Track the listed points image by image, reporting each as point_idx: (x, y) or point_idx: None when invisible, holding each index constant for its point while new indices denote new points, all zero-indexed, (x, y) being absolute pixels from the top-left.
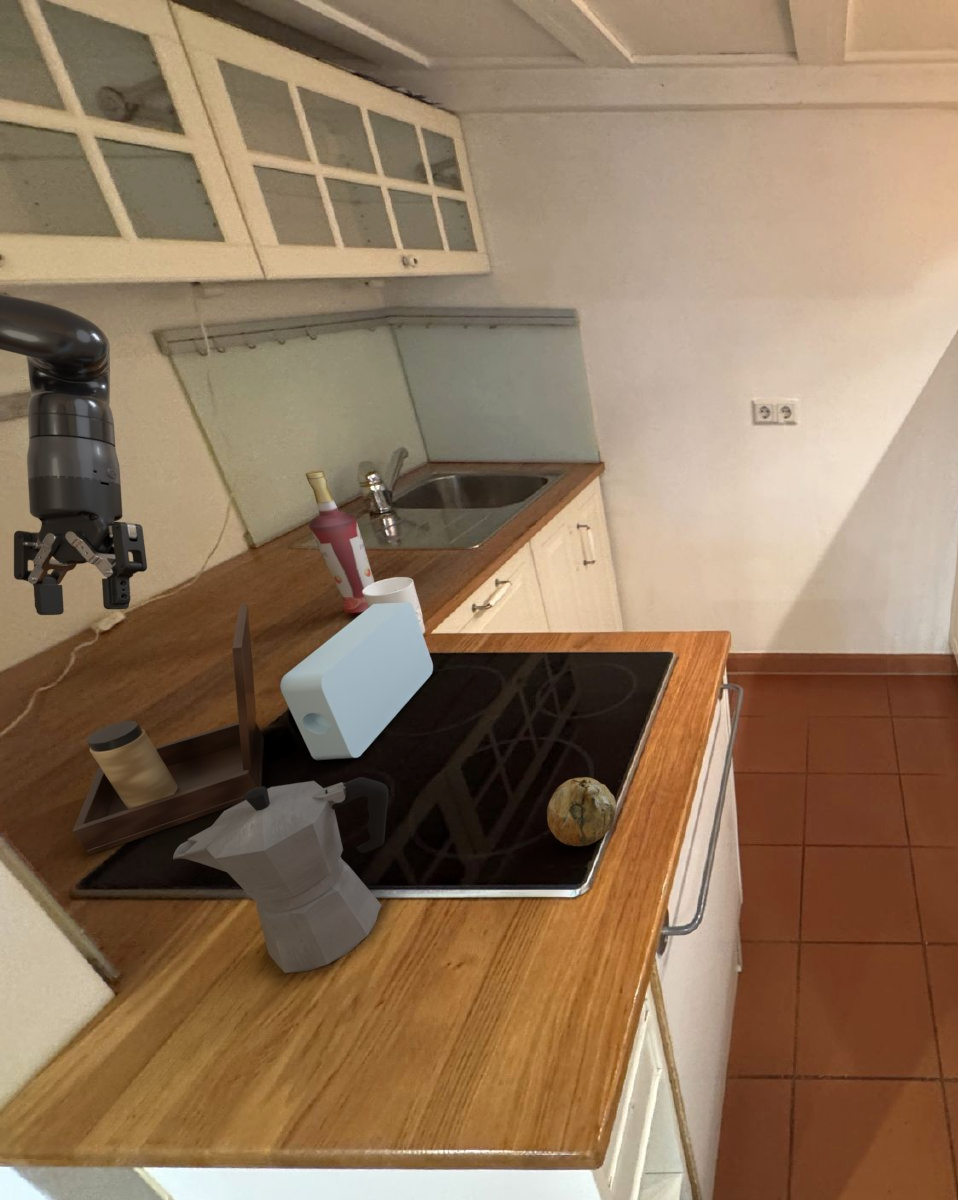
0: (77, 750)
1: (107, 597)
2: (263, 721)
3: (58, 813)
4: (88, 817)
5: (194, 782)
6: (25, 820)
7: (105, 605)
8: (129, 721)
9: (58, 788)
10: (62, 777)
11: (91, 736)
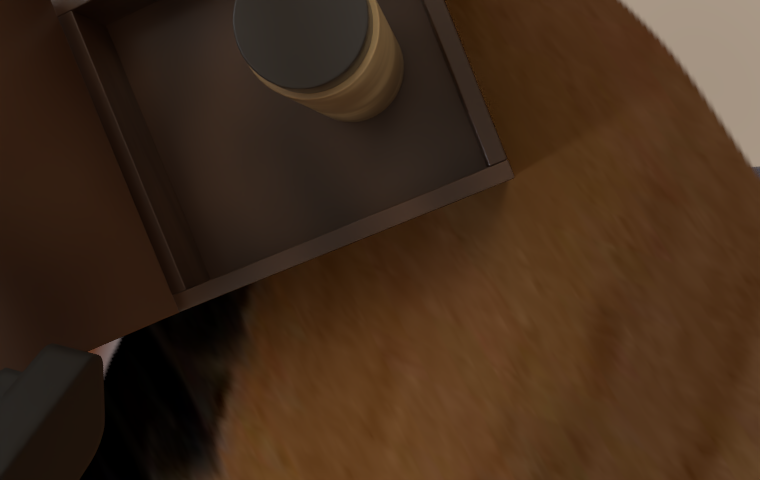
0: (747, 414)
1: (11, 397)
2: (257, 402)
3: (591, 88)
4: None
5: (273, 106)
6: (664, 79)
7: (71, 357)
8: (280, 79)
9: (671, 214)
10: (697, 270)
11: (356, 3)
